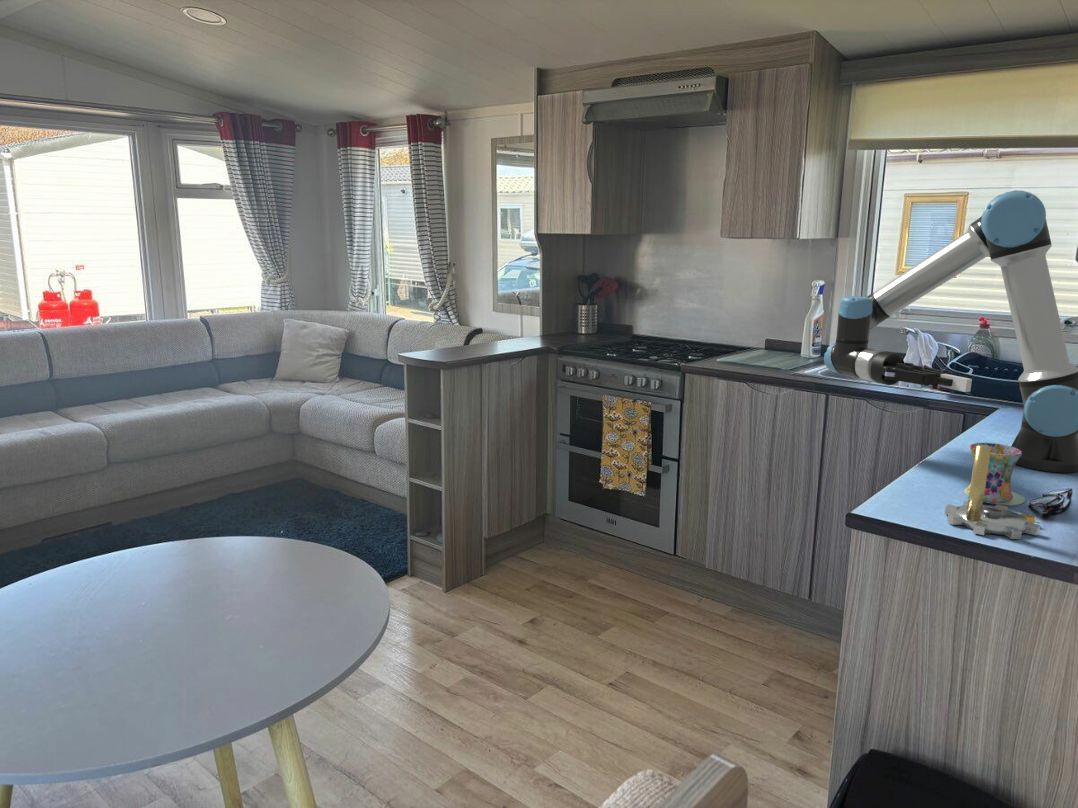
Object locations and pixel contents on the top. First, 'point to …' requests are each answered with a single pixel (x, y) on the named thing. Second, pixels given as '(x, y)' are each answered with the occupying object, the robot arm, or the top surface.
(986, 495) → the mug
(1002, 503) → the pale green plate
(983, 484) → the sprocket
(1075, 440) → the robot arm
